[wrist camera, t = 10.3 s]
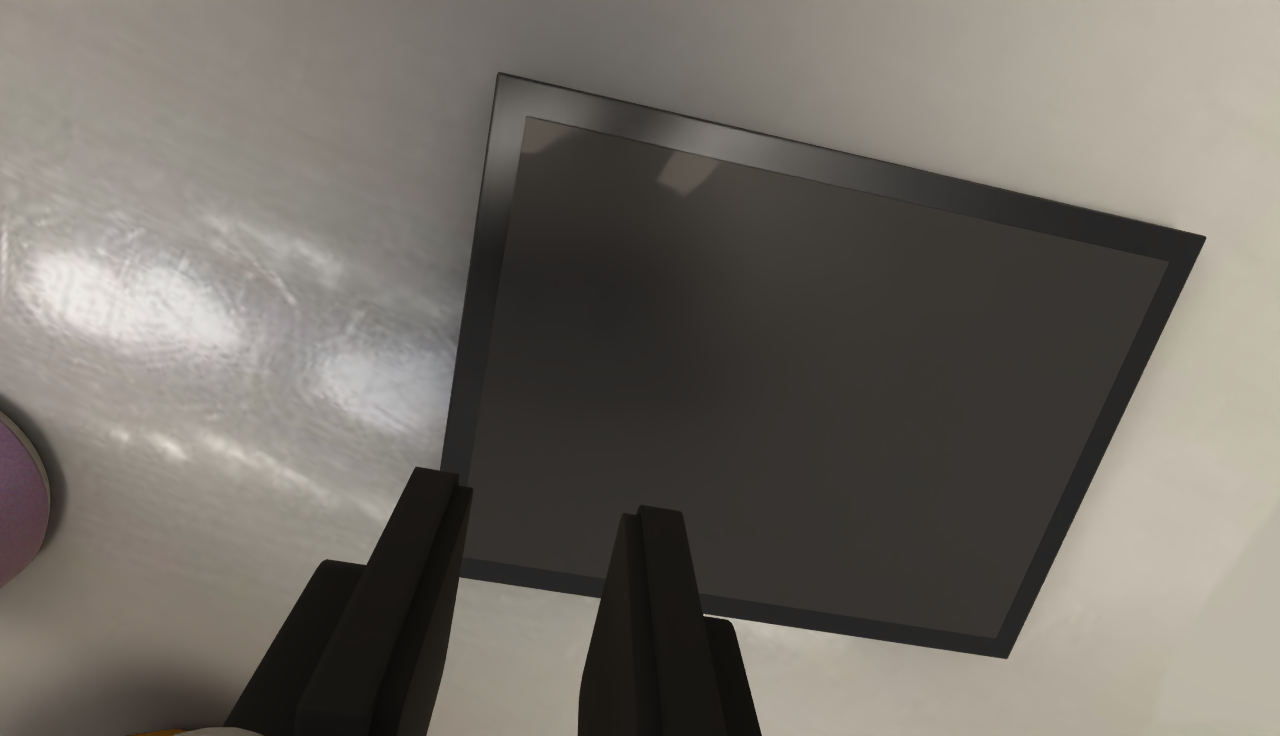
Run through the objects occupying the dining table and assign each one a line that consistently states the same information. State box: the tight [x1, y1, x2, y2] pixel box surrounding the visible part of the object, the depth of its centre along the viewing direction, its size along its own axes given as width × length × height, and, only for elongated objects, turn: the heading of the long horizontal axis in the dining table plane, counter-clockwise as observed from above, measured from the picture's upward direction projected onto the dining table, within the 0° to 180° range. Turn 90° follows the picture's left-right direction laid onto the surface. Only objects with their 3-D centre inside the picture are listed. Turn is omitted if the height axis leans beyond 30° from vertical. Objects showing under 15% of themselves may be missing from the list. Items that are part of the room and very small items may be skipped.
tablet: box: [440, 72, 1206, 659], centre depth 18 cm, size 12×16×1 cm
